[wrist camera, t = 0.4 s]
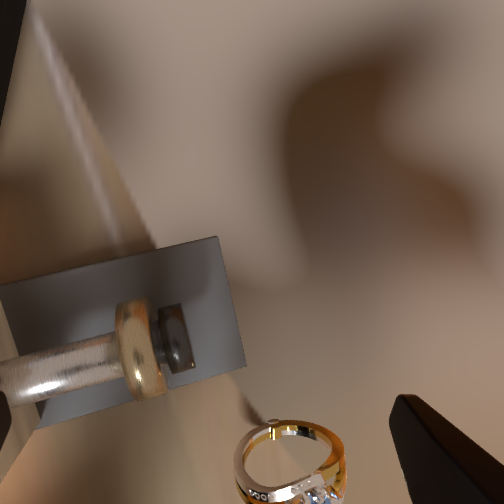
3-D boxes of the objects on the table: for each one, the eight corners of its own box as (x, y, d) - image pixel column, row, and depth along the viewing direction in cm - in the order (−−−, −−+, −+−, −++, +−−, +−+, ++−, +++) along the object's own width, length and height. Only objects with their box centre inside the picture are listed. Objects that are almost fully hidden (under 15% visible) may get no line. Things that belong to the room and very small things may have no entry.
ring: (316, 396, 26) (375, 473, 19) (317, 436, 27) (375, 527, 19) (224, 412, 25) (246, 502, 17) (227, 453, 26) (249, 560, 18)
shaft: (-20, 421, 20) (-86, 492, 15) (-51, 335, 19) (-132, 381, 14) (196, 358, 22) (202, 402, 17) (176, 279, 21) (176, 301, 16)
